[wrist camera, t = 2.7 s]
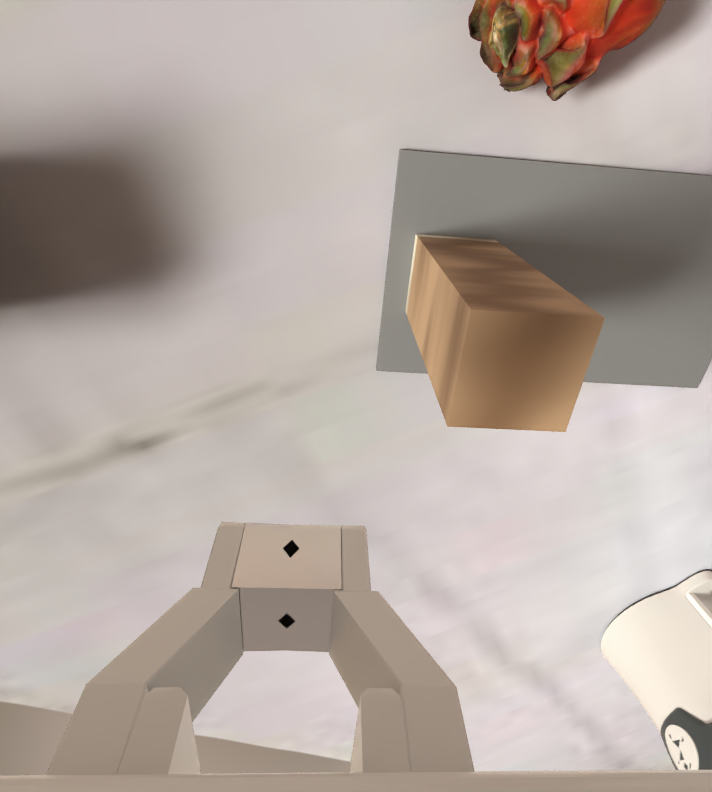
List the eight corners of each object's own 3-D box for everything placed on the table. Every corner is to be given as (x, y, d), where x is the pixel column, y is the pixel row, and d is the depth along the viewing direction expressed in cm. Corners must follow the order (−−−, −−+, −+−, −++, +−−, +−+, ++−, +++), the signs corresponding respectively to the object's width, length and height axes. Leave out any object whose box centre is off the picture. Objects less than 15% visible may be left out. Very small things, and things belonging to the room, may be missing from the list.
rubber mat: (791, 182, 29) (796, 183, 29) (693, 385, 36) (697, 388, 35) (399, 149, 27) (400, 149, 27) (376, 368, 34) (376, 370, 34)
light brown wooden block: (495, 239, 30) (605, 317, 17) (478, 316, 32) (565, 431, 20) (415, 233, 29) (471, 309, 17) (405, 311, 32) (447, 426, 20)
